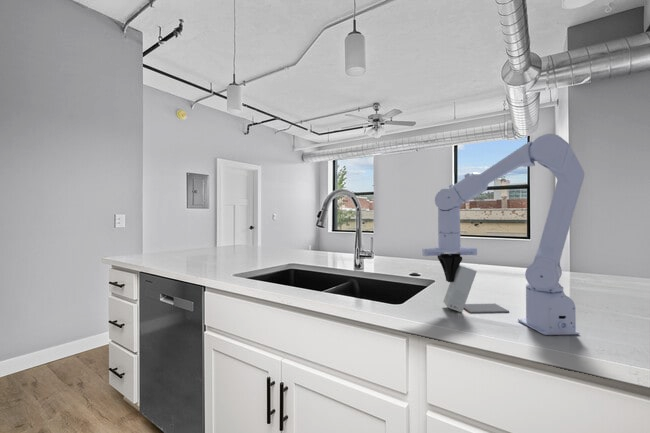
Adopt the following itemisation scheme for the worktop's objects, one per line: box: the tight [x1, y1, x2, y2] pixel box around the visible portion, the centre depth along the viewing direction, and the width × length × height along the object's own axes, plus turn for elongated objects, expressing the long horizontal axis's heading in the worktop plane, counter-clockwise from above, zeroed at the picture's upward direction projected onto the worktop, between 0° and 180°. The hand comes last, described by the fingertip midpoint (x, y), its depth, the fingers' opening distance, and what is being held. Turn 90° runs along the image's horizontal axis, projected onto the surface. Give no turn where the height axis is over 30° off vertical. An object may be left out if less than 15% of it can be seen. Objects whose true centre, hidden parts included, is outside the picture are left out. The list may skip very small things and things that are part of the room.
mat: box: [463, 303, 510, 314], centre depth 87 cm, size 7×10×1 cm, turn 90°
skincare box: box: [443, 263, 478, 313], centre depth 86 cm, size 6×4×12 cm
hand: (449, 281), depth 87 cm, fingers closed
